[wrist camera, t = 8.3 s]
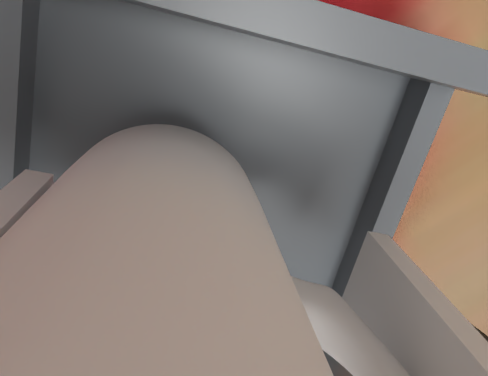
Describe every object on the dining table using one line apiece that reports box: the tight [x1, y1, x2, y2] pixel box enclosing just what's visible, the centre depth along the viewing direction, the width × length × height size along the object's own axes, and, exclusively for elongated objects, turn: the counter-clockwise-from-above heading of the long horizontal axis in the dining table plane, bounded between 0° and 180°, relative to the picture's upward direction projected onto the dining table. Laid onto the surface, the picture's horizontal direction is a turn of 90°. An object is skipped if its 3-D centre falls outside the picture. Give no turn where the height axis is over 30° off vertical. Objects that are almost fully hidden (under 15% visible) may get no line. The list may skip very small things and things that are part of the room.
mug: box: [0, 124, 410, 376], centre depth 8 cm, size 10×7×12 cm, turn 69°
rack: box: [0, 0, 488, 376], centre depth 17 cm, size 16×28×7 cm, turn 166°
